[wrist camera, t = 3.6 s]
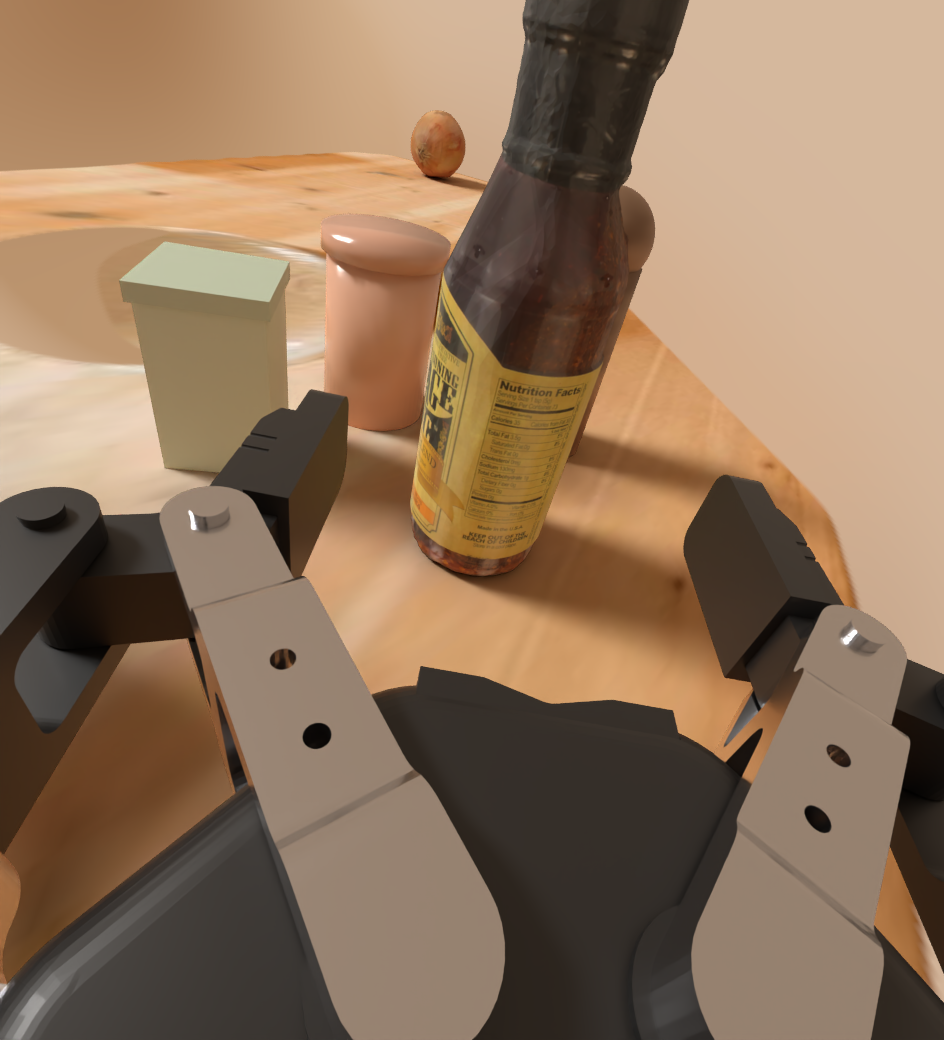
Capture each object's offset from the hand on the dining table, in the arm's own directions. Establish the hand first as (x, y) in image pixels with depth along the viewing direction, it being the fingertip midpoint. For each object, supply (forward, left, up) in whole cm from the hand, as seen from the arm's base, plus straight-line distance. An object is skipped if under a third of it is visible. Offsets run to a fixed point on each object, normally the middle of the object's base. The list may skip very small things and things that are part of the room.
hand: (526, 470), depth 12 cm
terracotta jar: (-7, +21, -11) cm, 25 cm away
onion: (-14, +108, -11) cm, 110 cm away
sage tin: (-13, +14, -11) cm, 22 cm away
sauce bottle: (0, +10, -11) cm, 15 cm away
